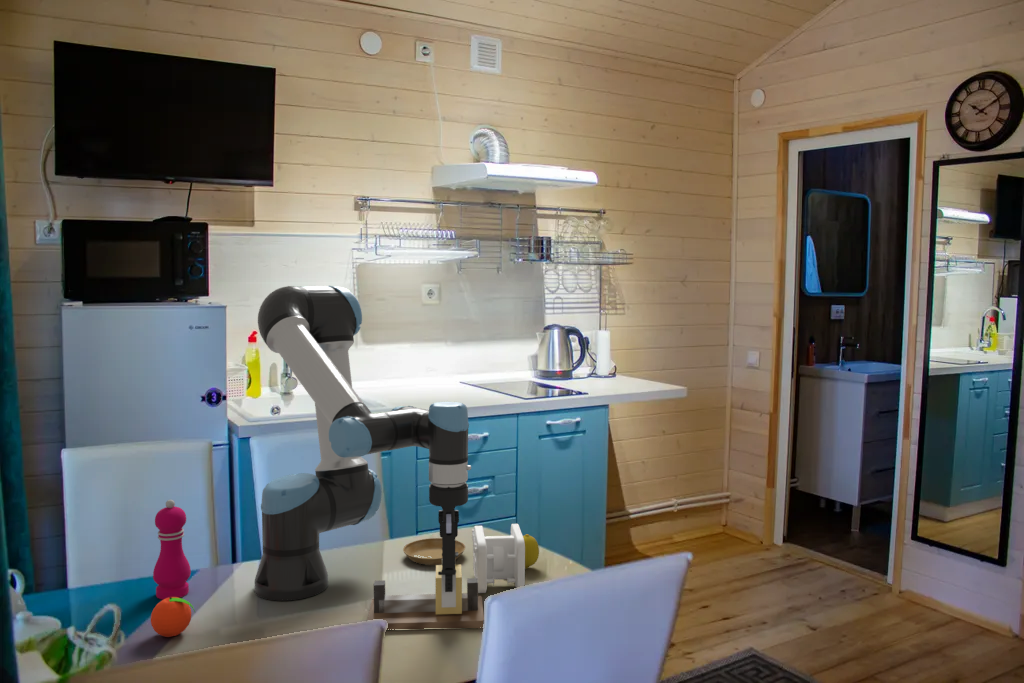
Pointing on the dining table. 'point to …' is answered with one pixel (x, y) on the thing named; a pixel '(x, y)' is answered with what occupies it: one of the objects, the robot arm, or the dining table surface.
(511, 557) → the cable organizer
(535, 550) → the lemon
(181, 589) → the pepper mill
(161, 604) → the clementine
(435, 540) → the plant saucer
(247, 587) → the dining table surface
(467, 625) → the rail board
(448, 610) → the slider
